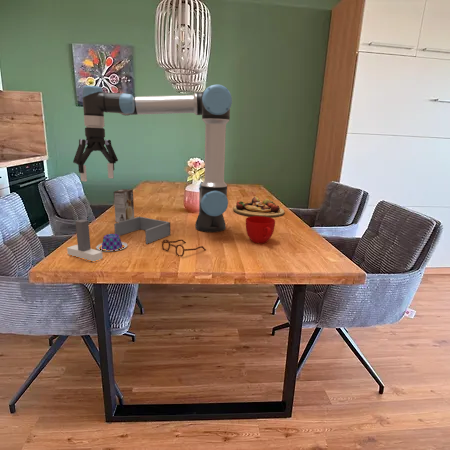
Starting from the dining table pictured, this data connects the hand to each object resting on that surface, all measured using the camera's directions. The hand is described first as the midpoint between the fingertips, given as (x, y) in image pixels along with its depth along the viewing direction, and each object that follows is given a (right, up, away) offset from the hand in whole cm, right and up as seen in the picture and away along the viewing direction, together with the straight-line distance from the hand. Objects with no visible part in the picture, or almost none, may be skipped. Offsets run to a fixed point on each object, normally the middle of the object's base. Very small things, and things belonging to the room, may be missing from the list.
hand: (98, 179), depth 135 cm
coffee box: (+1, -17, +35) cm, 39 cm away
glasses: (+37, -30, -5) cm, 48 cm away
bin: (+17, -24, +10) cm, 31 cm away
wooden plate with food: (+75, -11, +65) cm, 100 cm away
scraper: (+2, -31, -17) cm, 35 cm away
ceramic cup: (+70, -27, +7) cm, 75 cm away
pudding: (+8, -29, -5) cm, 30 cm away
